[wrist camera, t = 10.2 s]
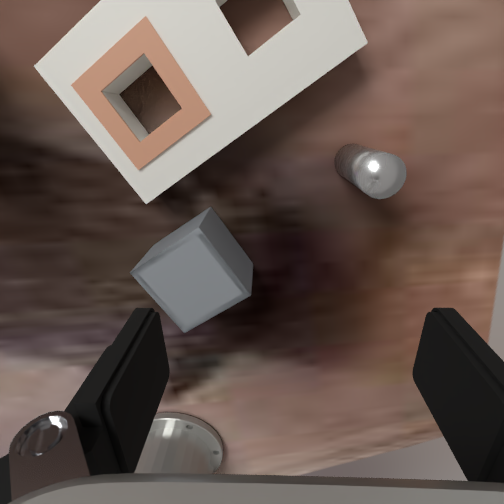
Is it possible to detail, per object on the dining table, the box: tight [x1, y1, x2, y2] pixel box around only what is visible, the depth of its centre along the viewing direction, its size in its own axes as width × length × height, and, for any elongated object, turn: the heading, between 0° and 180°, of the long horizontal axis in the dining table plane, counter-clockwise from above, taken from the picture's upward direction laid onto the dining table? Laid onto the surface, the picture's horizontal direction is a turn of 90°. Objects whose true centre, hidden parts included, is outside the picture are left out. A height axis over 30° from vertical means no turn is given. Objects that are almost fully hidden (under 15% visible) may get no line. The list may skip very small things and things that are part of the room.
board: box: [34, 0, 368, 204], centre depth 23 cm, size 12×20×3 cm, turn 124°
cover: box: [130, 207, 253, 333], centre depth 28 cm, size 7×7×6 cm
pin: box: [334, 144, 406, 199], centre depth 23 cm, size 3×3×8 cm
